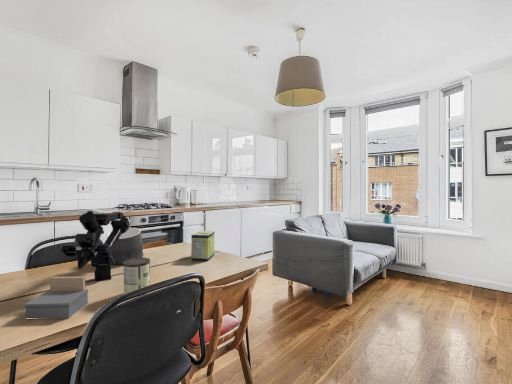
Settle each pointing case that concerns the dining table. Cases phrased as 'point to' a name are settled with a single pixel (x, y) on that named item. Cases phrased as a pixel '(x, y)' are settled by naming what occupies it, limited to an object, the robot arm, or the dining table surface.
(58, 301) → the lid
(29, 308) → the mailer box
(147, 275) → the coffee can
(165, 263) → the dining table surface
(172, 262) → the dining table surface
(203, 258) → the protein box
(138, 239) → the planter
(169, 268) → the dining table surface
